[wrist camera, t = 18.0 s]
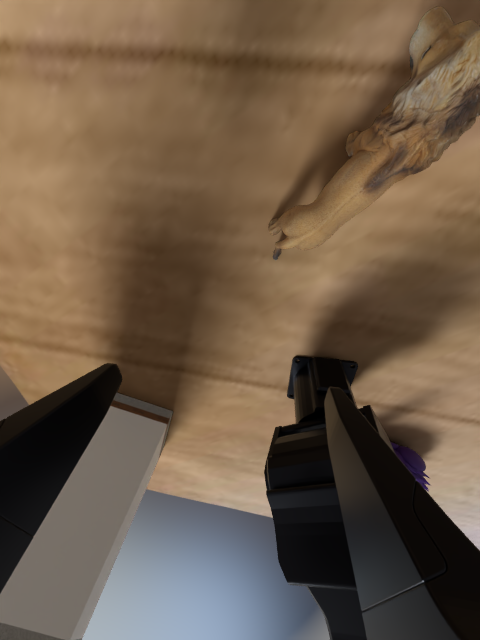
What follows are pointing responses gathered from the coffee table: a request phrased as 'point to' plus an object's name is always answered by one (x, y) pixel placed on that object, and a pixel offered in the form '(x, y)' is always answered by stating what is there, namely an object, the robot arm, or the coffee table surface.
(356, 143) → the lion figurine
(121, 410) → the white square tower
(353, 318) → the coffee table surface
